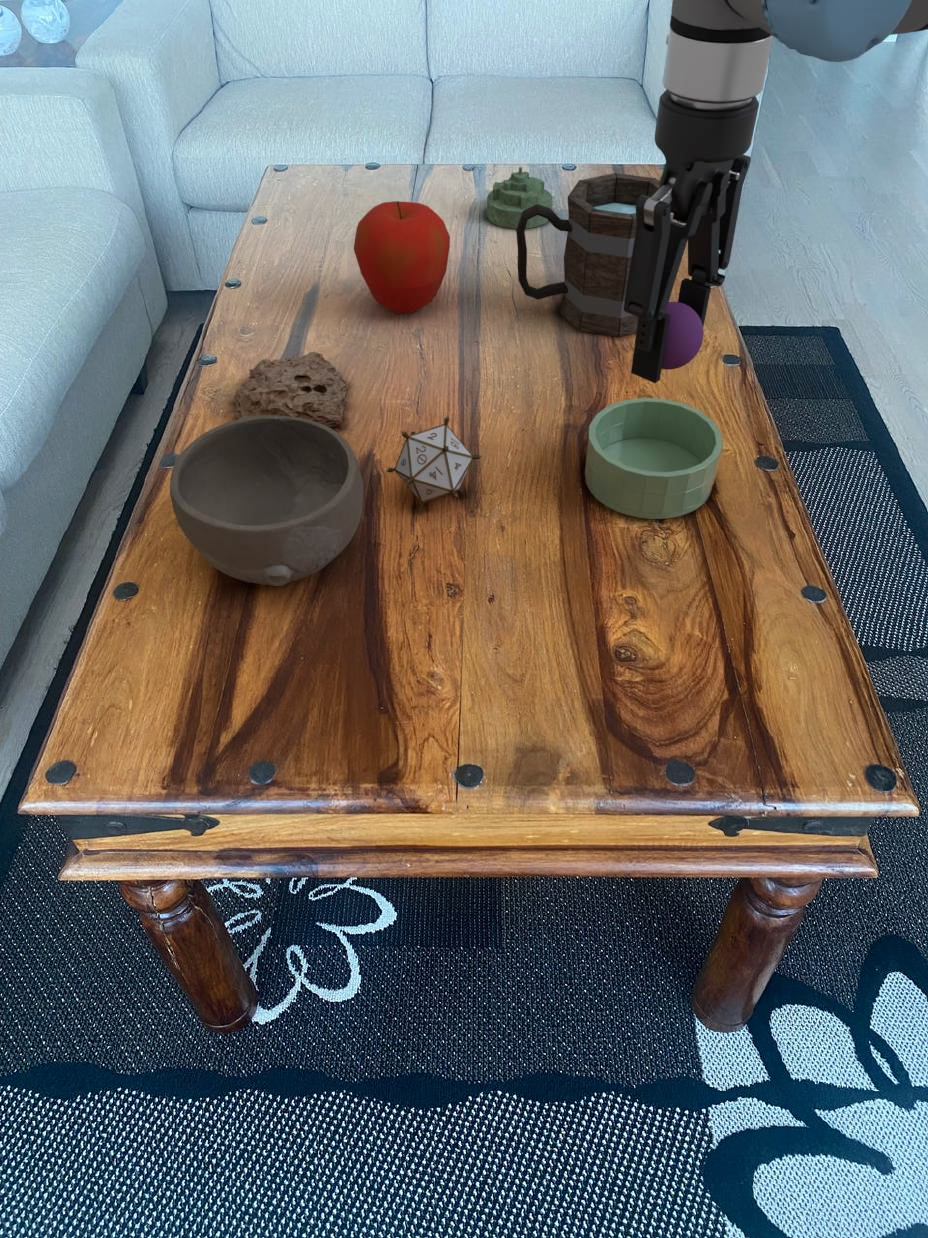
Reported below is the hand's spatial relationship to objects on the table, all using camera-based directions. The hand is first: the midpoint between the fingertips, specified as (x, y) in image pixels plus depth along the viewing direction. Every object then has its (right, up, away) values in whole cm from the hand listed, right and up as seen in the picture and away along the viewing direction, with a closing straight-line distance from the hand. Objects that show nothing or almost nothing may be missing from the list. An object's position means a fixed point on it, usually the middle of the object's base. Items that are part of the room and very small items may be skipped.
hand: (665, 361), depth 87 cm
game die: (-22, -12, +9) cm, 27 cm away
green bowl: (0, -9, +10) cm, 14 cm away
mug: (-3, +16, +35) cm, 39 cm away
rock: (-39, +2, +22) cm, 45 cm away
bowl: (-37, -17, +4) cm, 41 cm away
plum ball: (0, +2, -2) cm, 3 cm away
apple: (-27, +17, +36) cm, 48 cm away
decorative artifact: (-11, +38, +56) cm, 68 cm away
